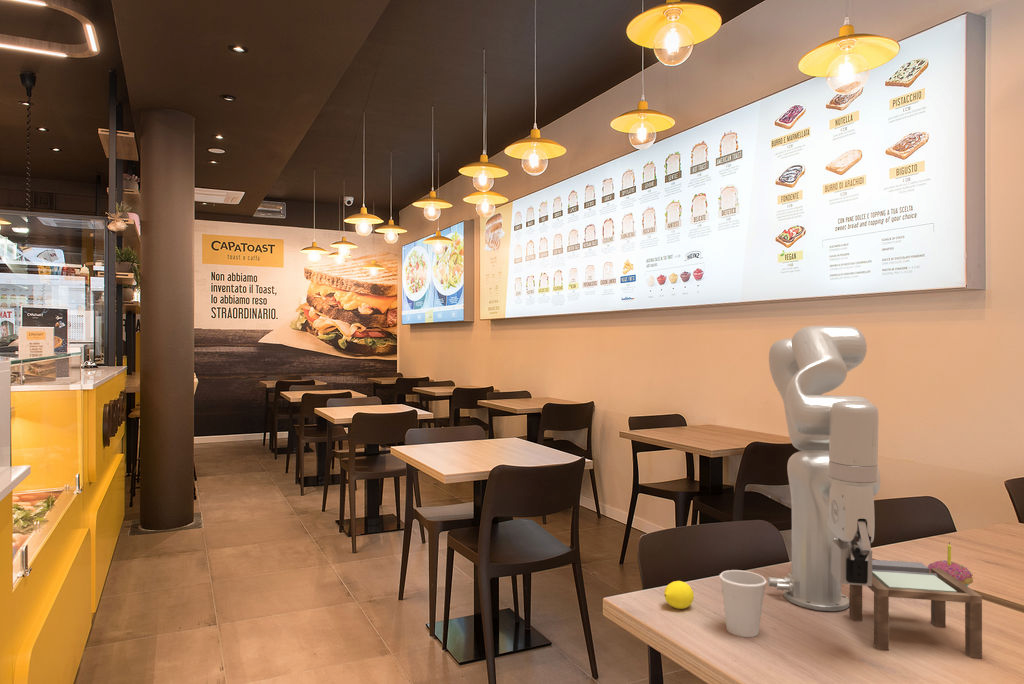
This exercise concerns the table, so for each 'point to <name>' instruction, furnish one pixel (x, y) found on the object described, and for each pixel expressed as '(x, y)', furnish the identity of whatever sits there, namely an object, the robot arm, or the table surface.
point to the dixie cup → (742, 601)
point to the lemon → (679, 594)
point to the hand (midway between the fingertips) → (851, 575)
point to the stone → (840, 559)
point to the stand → (937, 609)
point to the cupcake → (953, 569)
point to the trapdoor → (907, 576)
